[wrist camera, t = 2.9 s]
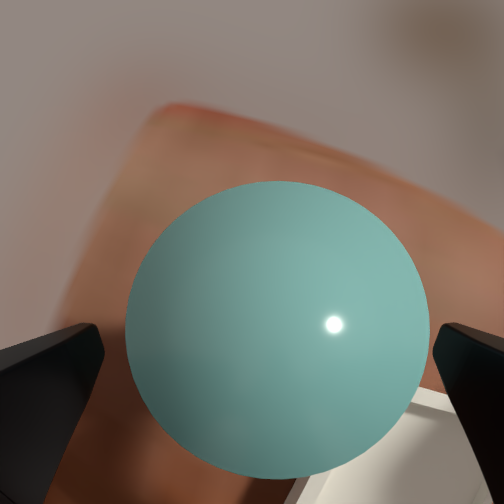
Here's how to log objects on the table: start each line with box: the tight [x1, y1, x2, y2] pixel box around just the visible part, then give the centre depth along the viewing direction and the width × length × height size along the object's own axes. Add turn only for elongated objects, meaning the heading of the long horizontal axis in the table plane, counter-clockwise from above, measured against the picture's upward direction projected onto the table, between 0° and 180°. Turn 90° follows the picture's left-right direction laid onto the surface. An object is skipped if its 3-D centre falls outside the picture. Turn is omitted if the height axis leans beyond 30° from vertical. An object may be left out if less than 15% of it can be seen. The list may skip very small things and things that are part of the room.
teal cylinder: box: [125, 181, 430, 479], centre depth 10 cm, size 5×5×12 cm
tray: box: [284, 387, 492, 504], centre depth 12 cm, size 12×12×2 cm
